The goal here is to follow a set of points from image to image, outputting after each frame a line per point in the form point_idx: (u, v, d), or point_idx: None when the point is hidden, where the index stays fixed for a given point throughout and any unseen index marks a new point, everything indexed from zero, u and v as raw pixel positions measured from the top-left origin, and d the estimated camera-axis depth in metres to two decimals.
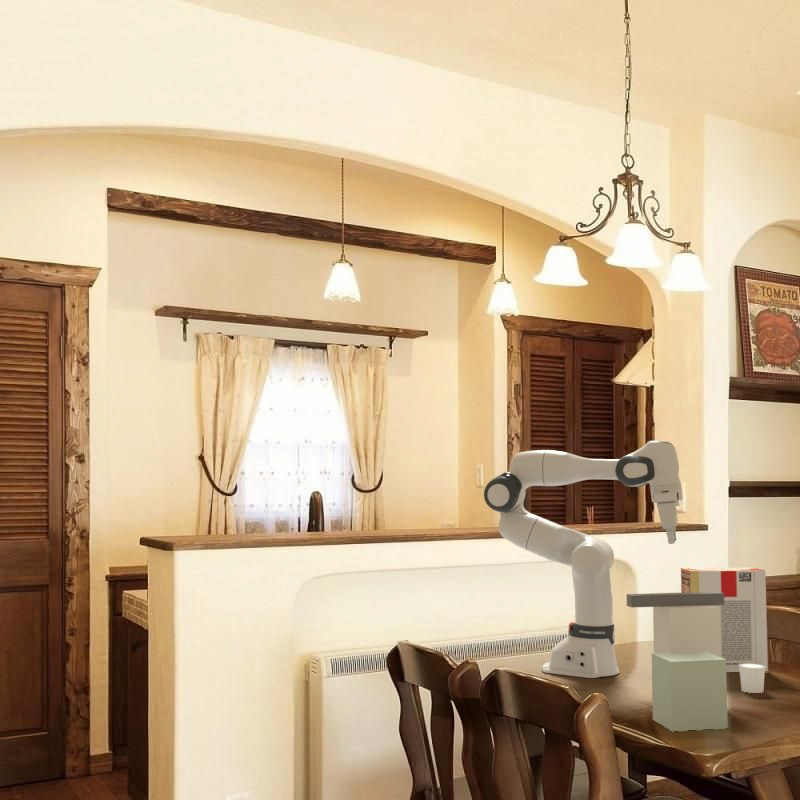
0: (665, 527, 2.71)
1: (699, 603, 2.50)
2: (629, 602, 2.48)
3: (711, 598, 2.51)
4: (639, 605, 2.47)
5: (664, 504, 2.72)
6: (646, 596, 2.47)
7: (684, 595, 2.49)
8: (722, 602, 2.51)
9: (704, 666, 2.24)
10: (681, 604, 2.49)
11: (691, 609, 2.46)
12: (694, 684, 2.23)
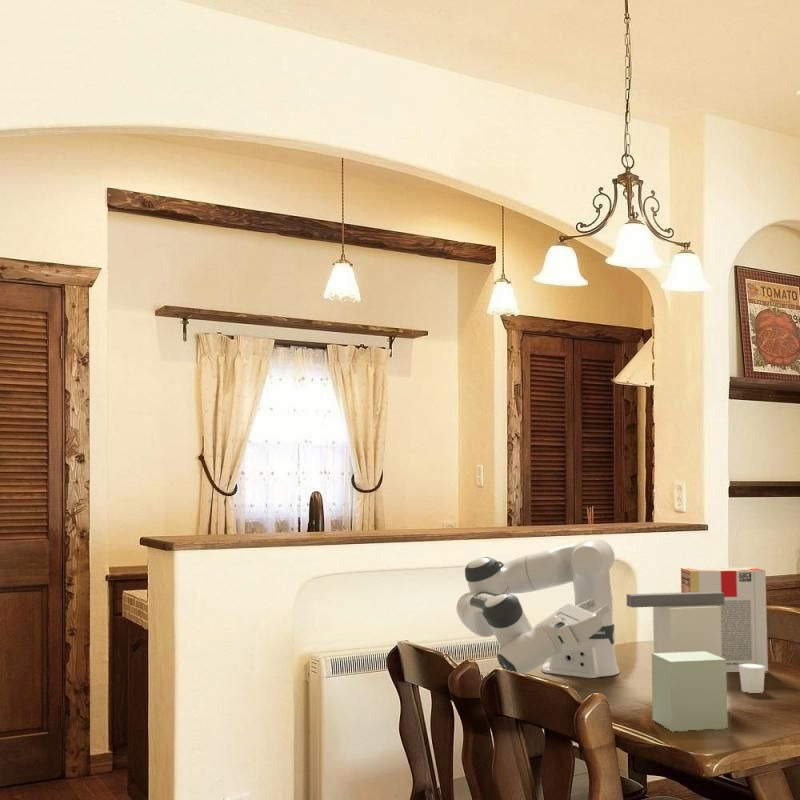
0: (600, 623, 2.36)
1: (699, 603, 2.50)
2: (629, 602, 2.48)
3: (711, 598, 2.51)
4: (639, 605, 2.47)
5: (577, 635, 2.36)
6: (646, 596, 2.47)
7: (684, 595, 2.49)
8: (722, 602, 2.51)
9: (704, 666, 2.24)
10: (681, 604, 2.49)
11: (691, 609, 2.46)
12: (694, 684, 2.23)
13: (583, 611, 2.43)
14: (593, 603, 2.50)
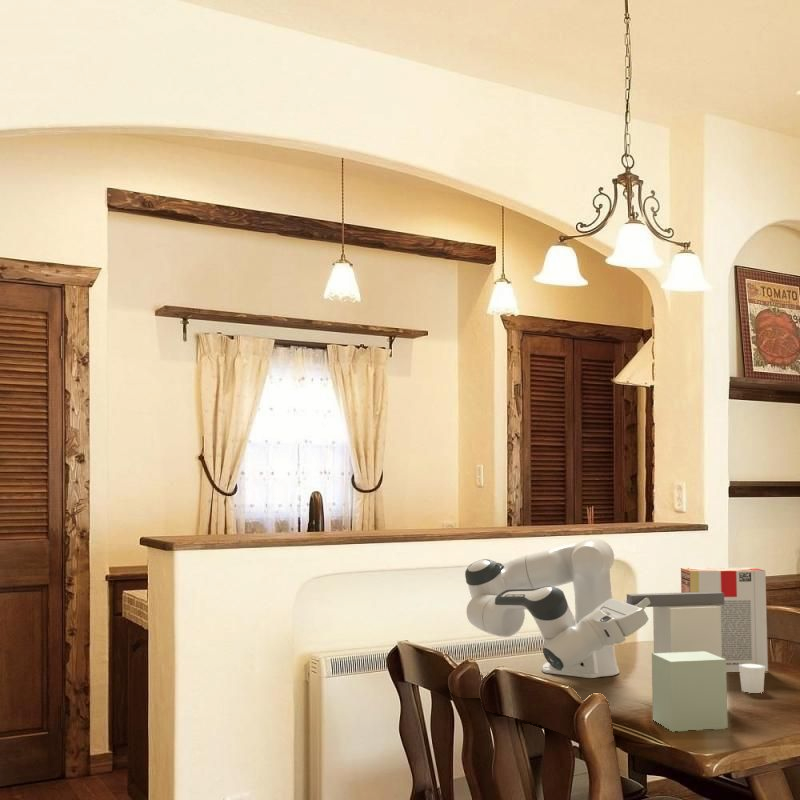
0: (646, 617, 2.38)
1: (699, 603, 2.50)
2: (629, 602, 2.48)
3: (711, 598, 2.51)
4: None
5: (624, 629, 2.38)
6: (646, 596, 2.47)
7: (684, 595, 2.49)
8: (722, 602, 2.51)
9: (704, 666, 2.24)
10: (681, 604, 2.49)
11: (691, 609, 2.46)
12: (694, 684, 2.23)
13: (628, 605, 2.45)
14: None
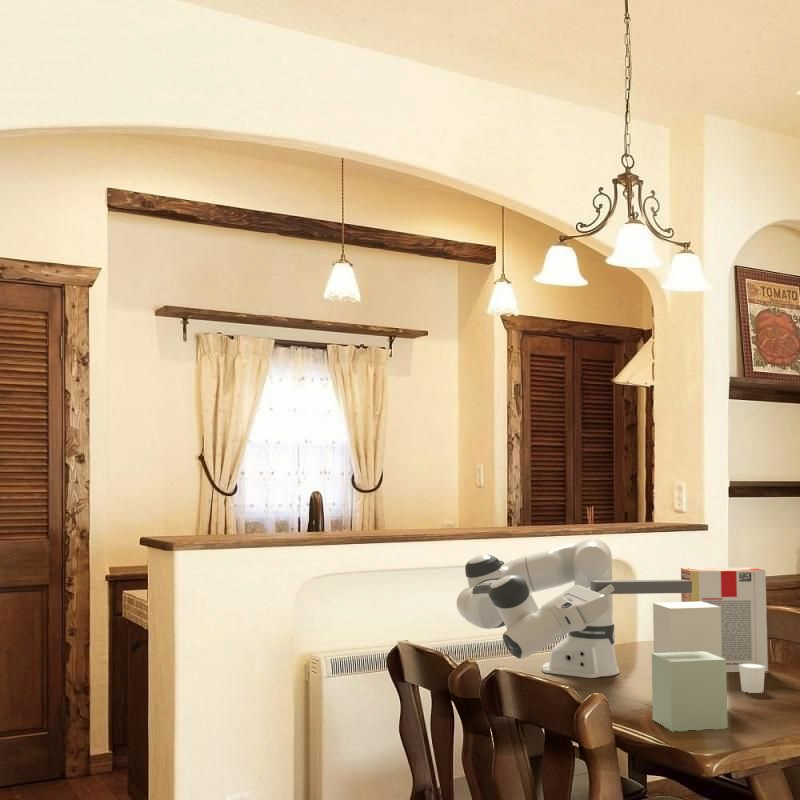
0: (608, 604, 2.31)
1: (665, 591, 2.42)
2: (593, 589, 2.41)
3: (678, 586, 2.43)
4: None
5: (584, 616, 2.31)
6: (610, 583, 2.40)
7: (650, 582, 2.42)
8: (690, 590, 2.44)
9: (704, 666, 2.24)
10: (647, 592, 2.42)
11: (691, 609, 2.46)
12: (694, 684, 2.23)
13: (591, 592, 2.38)
14: None
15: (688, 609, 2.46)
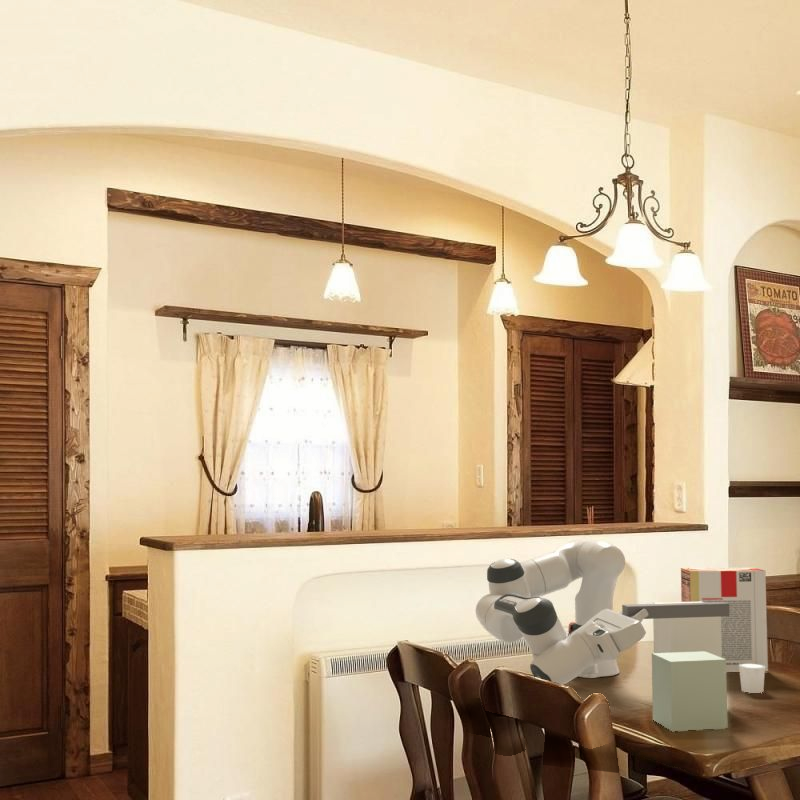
0: (644, 631, 2.16)
1: (702, 614, 2.28)
2: (625, 613, 2.26)
3: (715, 609, 2.29)
4: None
5: (619, 644, 2.16)
6: (643, 607, 2.26)
7: (685, 606, 2.27)
8: (727, 613, 2.29)
9: (704, 666, 2.24)
10: (682, 616, 2.27)
11: None
12: (694, 684, 2.23)
13: (624, 617, 2.23)
14: None
15: None
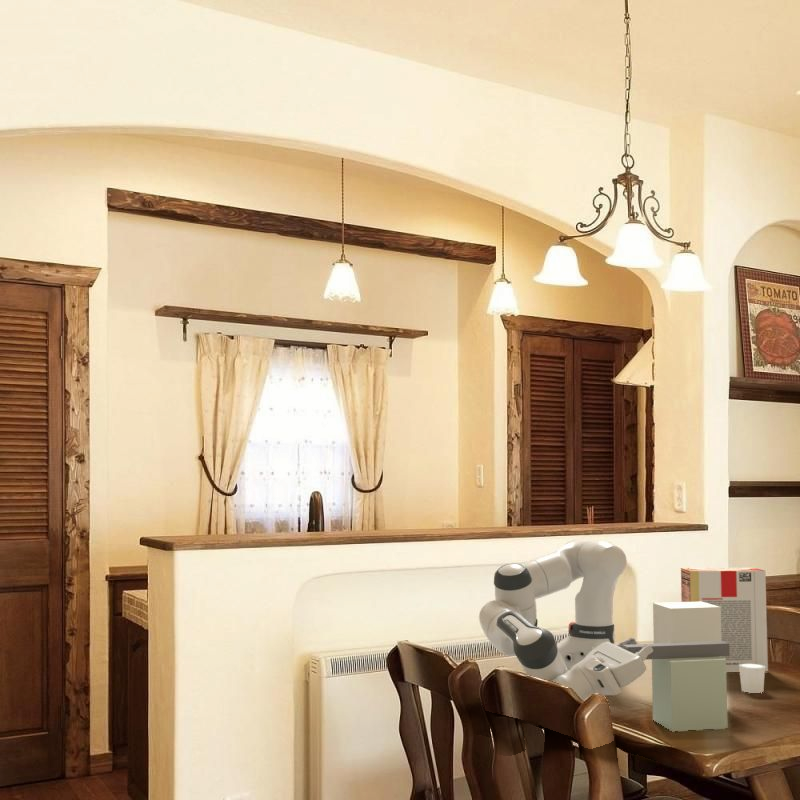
0: (644, 666, 2.16)
1: (702, 655, 2.28)
2: None
3: (715, 649, 2.29)
4: None
5: (619, 679, 2.16)
6: None
7: (685, 646, 2.27)
8: (727, 653, 2.29)
9: (704, 666, 2.24)
10: (682, 656, 2.27)
11: (691, 609, 2.46)
12: (694, 684, 2.23)
13: (624, 652, 2.23)
14: (634, 642, 2.30)
15: (688, 609, 2.46)
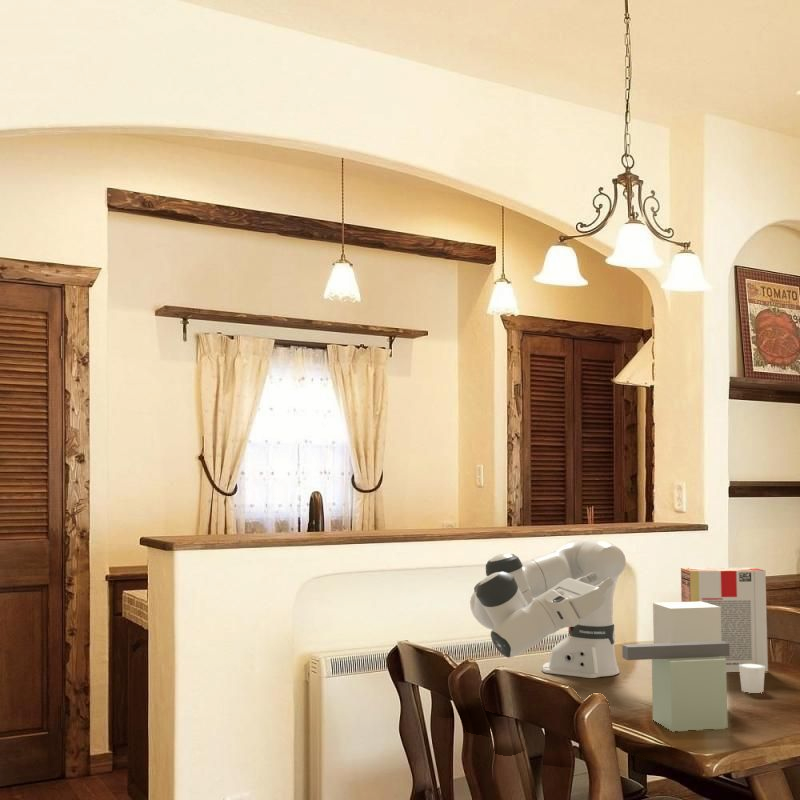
0: (603, 597, 2.15)
1: (702, 655, 2.28)
2: (625, 654, 2.26)
3: (715, 649, 2.29)
4: (636, 657, 2.25)
5: (578, 610, 2.15)
6: (644, 647, 2.25)
7: (685, 646, 2.27)
8: (727, 653, 2.29)
9: (704, 666, 2.24)
10: (682, 656, 2.27)
11: (691, 609, 2.46)
12: (694, 684, 2.23)
13: (584, 585, 2.22)
14: (595, 577, 2.30)
15: (688, 609, 2.46)
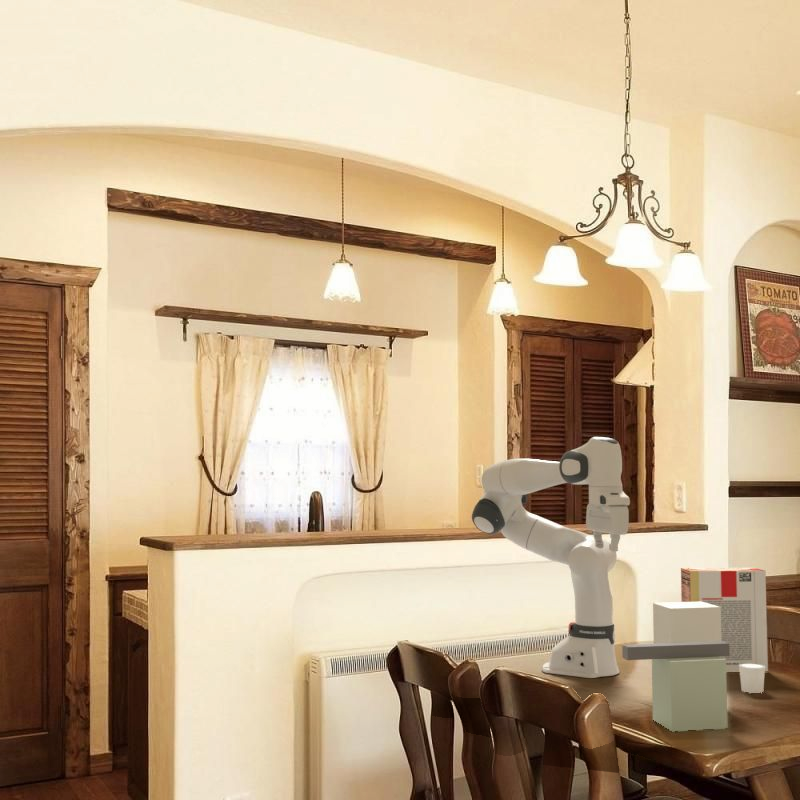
0: (618, 533, 2.45)
1: (702, 655, 2.28)
2: (625, 654, 2.26)
3: (715, 649, 2.29)
4: (636, 657, 2.25)
5: (617, 508, 2.47)
6: (644, 647, 2.25)
7: (685, 646, 2.27)
8: (727, 653, 2.29)
9: (704, 666, 2.24)
10: (682, 656, 2.27)
11: (691, 609, 2.46)
12: (694, 684, 2.23)
13: None
14: (600, 546, 2.59)
15: (688, 609, 2.46)
